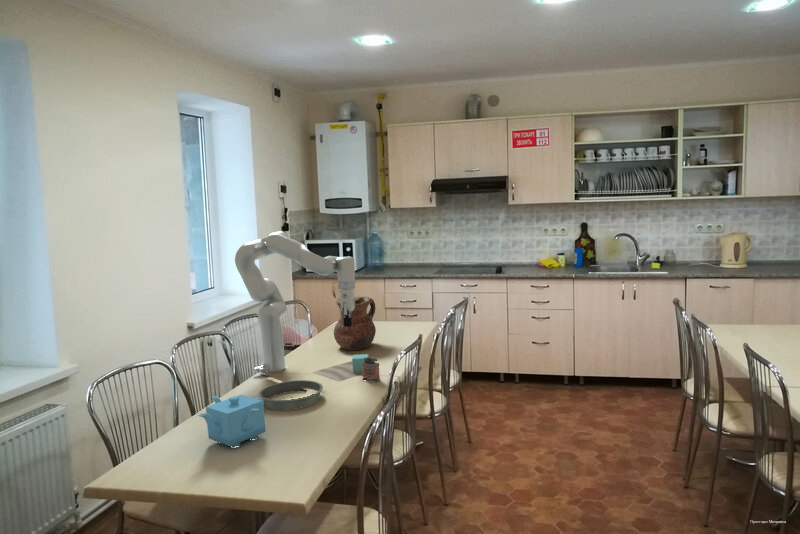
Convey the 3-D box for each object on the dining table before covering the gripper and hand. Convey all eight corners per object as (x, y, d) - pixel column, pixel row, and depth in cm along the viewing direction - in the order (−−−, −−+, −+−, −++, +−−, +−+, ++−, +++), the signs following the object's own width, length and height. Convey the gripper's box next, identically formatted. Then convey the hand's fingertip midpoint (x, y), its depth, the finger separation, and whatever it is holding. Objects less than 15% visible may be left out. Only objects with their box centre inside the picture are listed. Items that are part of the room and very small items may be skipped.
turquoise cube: (352, 372, 265) (352, 358, 265) (354, 367, 272) (354, 354, 271) (367, 371, 265) (366, 358, 264) (369, 367, 271) (368, 354, 270)
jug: (357, 354, 299) (353, 304, 296) (325, 349, 311) (322, 301, 308) (385, 344, 316) (382, 296, 313) (354, 339, 329) (351, 293, 326)
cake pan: (333, 391, 247) (332, 380, 247) (308, 413, 224) (307, 401, 223) (277, 389, 254) (276, 378, 253) (248, 410, 230) (247, 399, 229)
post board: (339, 384, 254) (338, 370, 253) (312, 375, 269) (311, 362, 268) (380, 372, 268) (379, 358, 268) (352, 364, 283) (351, 351, 282)
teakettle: (268, 427, 212) (265, 386, 210) (262, 449, 194) (258, 404, 192) (212, 432, 210) (208, 391, 208) (201, 455, 192) (196, 410, 190)
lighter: (361, 380, 258) (359, 357, 257) (365, 378, 261) (363, 355, 260) (377, 382, 254) (376, 359, 253) (381, 380, 257) (380, 356, 256)
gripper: (352, 287, 260) (353, 330, 262) (357, 282, 275) (358, 322, 277) (334, 287, 261) (336, 330, 263) (341, 282, 275) (342, 322, 278)
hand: (347, 325), depth 270 cm, fingers closed
